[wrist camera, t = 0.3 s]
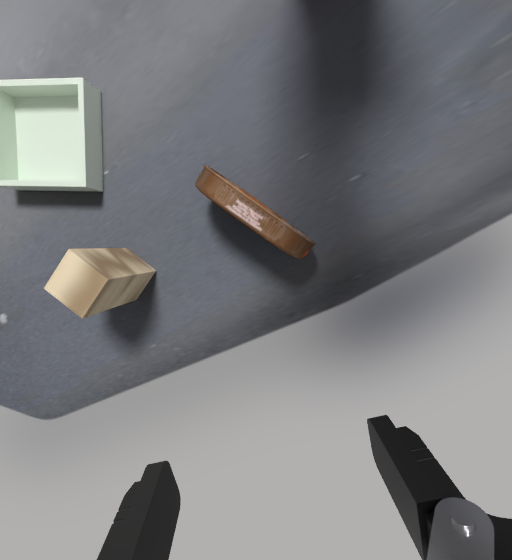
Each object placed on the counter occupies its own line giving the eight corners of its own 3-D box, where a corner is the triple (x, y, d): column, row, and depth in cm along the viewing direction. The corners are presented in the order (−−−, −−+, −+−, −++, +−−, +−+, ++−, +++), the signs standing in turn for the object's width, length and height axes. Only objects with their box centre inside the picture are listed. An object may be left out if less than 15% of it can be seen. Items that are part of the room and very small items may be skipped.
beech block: (107, 277, 43) (44, 288, 32) (127, 248, 42) (68, 249, 31) (136, 300, 43) (82, 318, 32) (156, 270, 42) (108, 279, 31)
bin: (13, 94, 41) (-13, 80, 38) (101, 92, 40) (83, 77, 37) (18, 190, 43) (-6, 185, 39) (103, 191, 41) (85, 186, 38)
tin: (315, 241, 39) (321, 240, 31) (300, 262, 39) (301, 266, 31) (218, 171, 39) (197, 152, 31) (204, 192, 40) (180, 179, 32)
